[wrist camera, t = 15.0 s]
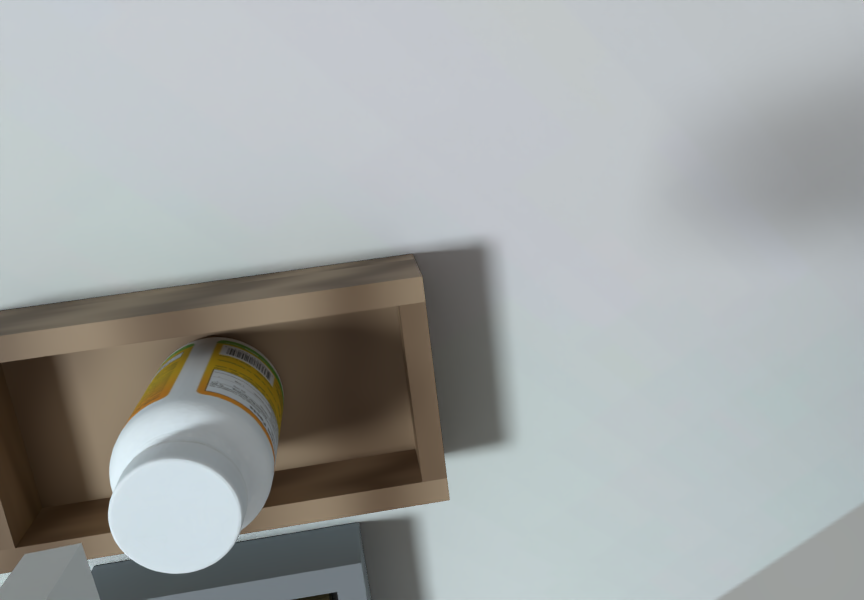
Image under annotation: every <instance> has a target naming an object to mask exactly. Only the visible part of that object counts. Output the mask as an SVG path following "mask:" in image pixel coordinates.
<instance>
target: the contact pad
mask: <svg viewBox="0 0 864 600" xmlns="http://www.w3.org/2000/svg"><path fill="white" fill-rule="evenodd" d="M292 600H332V596H331V593H327V594H321V595H316V596H310V597H304V598H298V599H292Z"/></svg>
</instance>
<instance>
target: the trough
mask: <svg viewBox="0 0 864 600" xmlns="http://www.w3.org/2000/svg"><path fill="white" fill-rule="evenodd" d="M211 337H223V338H230V339H235V340H238V341H241V342H244V343H246V344H248V345H250V346H252V347H254V348H255V349H257V350H258V351H260V352H261V353H262V354H263V355H264V356H265V357H266V358H267V359H268V360H269V361H270V362H271V363H272V365H273V366H274V368H275V369H276V371H277V373H278V375H279V377H280V380H281V383H282V386H283V392H284V405H283V414H282V421H281V428H280V434H279V441H278V448H277V454H276V461H275V469H274V476H273V481H272V486H271V490H270V493H269V496H268V498H267V500H266V502H265V504H264V506H263V508H262V509H261V511H260V512H259V514H258V515H257V516H256V517H255V518H254V520H253V521H252V522H251V523H250V524H248V525H247V526H246V527H245V528H244V529H242V530H241V532H240V534H246V533H252V532H258V531H264V530H270V529H276V528H282V527H288V526H294V525H301V524H307V523H313V522H319V521H325V520H331V519H337V518H343V517H349V516H355V515H361V514H367V513H374V512H380V511H386V510H392V509H398V508H404V507H410V506H416V505H422V504H428V503H434V502H440V501H447V500H450V499H449V490H448V482H447V474H446V466H445V458H444V449H443V441H442V433H441V425H440V417H439V408H438V400H437V392H436V384H435V375H434V367H433V359H432V351H431V343H430V334H429V326H428V318H427V310H426V302H425V293H424V285H423V277H422V274H421V272H420V270H419V267H418V265H417V263H416V261H415V258H414V256H413V254H407V255H400V256H393V257H386V258H378V259H371V260H364V261H357V262H349V263H342V264H335V265H328V266H321V267H313V268H306V269H299V270H292V271H284V272H277V273H270V274H263V275H255V276H248V277H241V278H234V279H227V280H219V281H212V282H205V283H198V284H190V285H183V286H176V287H169V288H162V289H154V290H147V291H140V292H133V293H125V294H118V295H111V296H104V297H97V298H89V299H82V300H75V301H68V302H60V303H53V304H46V305H39V306H32V307H24V308H17V309H10V310H3V311H0V574H2V573H9V572H12V571H13V570H14V568H15V567H16V565H17V564H18V563H19V561H20V560H21V559H22V557H23V556H24V555H25V554H28V553H33V552H38V551H43V550H49V549H54V548H59V547H64V546H69V545H74V544H79V543H82V546H83V549H84V552H85V555H86V558H87V560H88V559H94V558H100V557H106V556H112V555H118V554H124V552H123V551H122V550H121V549H120V548H119V546H118V545H117V543H116V542H115V540H114V538H113V536H112V533H111V530H110V526H109V521H108V509H109V502H110V499H111V496H112V493H113V492H112V489H111V485H110V477H109V466H110V459H111V455H112V451H113V448H114V445H115V443H116V441H117V439H118V436H119V435H120V433H121V431H122V429H123V428H124V426H125V424H126V423H127V421H128V419H129V418H130V416H131V414H132V413H133V411H134V409H135V408H136V406H137V405H138V403H139V401H140V400H141V398H142V396H143V395H144V393H145V391H146V390H147V388H148V386H149V385H150V383H151V381H152V379H153V378H154V376H155V374H156V373H157V371H158V369H159V368H160V367H161V365H162V364H163V363H164V361H165V360H166V359H167V358H168V357H169V356H170V355H171V354H172V353H174V352H175V351H176V350H178V349H179V348H181V347H182V346H184V345H186V344H188V343H191V342H193V341H196V340H200V339H204V338H211ZM240 534H239V535H240Z"/></svg>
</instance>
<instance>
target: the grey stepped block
mask: <svg viewBox="0 0 864 600" xmlns="http://www.w3.org/2000/svg"><path fill="white" fill-rule="evenodd" d="M91 573H92V576H93V579H94V582H95V585H96V588H97V591H98V594H99V597H100V600H292V599H298V598H304V597H310V596H316V595H321V594H327V593H331V596H332V600H371V595H370V588H369V582H368V576H367V570H366V563H365V557H364V551H363V545H362V538H361V532H360V526H359V522H358V523H352V524H346V525H340V526H334V527H328V528H322V529H316V530H310V531H304V532H298V533H292V534H286V535H280V536H274V537H268V538H261V539H255V540H249V541H243V542H237V543H235V544H234V546H233V547H232V548H231V550H230V551H229V552H228V553H227V554H226V555H225V556H224V557H222V558H221V559H220V560H219V561H217V562H216V563H214V564H212V565H210V566H208V567H206V568H204V569H201V570H198V571H194V572H189V573H180V574H171V573H163V572H158V571H154V570H151V569H148V568H146V567H144V566H141V565H140V564H138V563H136V562H135V561H133V560H128V561H122V562H116V563H110V564H104V565H98V566H94V567H93V569H92V571H91Z"/></svg>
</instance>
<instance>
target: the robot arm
mask: <svg viewBox="0 0 864 600" xmlns="http://www.w3.org/2000/svg"><path fill="white" fill-rule="evenodd" d="M0 600H100V597H99V594H98V591H97V588H96V585H95V582H94V579H93V576H92V573H91V570H90V567H89V564H88V561H87V558H86V555H85V552H84V549H83V546H82V543H79V544H74V545H69V546H64V547H59V548H54V549H49V550H43V551H38V552H33V553H28V554H25V555H24V556H23V557H22V559H21V560H20V561H19V563H18V564H17V565H16V567H15V568H14V570H13V571H12V572H11V574H10V575H9V576H8V578H7V579H6V581H5V582H4V583H3V585H2V586H1V587H0Z"/></svg>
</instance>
